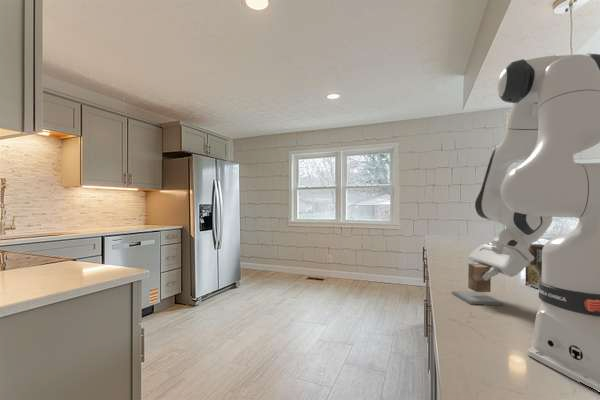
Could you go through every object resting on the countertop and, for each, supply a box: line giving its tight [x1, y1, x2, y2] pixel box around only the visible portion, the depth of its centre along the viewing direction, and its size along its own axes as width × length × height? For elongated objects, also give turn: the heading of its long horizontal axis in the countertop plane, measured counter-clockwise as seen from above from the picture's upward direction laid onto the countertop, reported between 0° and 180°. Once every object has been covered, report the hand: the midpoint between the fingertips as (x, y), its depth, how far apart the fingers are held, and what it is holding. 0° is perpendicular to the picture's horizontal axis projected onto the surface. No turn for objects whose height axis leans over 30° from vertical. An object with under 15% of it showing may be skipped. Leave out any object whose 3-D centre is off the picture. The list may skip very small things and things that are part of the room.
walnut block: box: [467, 263, 492, 293], centre depth 96 cm, size 5×5×8 cm
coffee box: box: [525, 243, 545, 289], centre depth 111 cm, size 9×6×16 cm
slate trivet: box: [451, 290, 504, 306], centre depth 96 cm, size 11×10×1 cm
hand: (477, 276), depth 96 cm, fingers closed on walnut block, 4 cm apart
